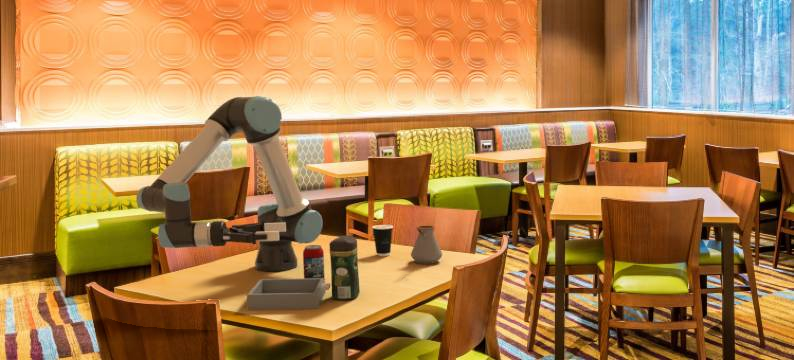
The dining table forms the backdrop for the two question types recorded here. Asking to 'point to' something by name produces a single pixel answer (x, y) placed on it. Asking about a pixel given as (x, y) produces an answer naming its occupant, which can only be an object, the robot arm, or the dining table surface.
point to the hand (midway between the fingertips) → (282, 231)
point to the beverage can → (313, 261)
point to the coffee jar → (344, 268)
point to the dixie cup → (382, 239)
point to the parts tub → (287, 294)
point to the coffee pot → (426, 246)
